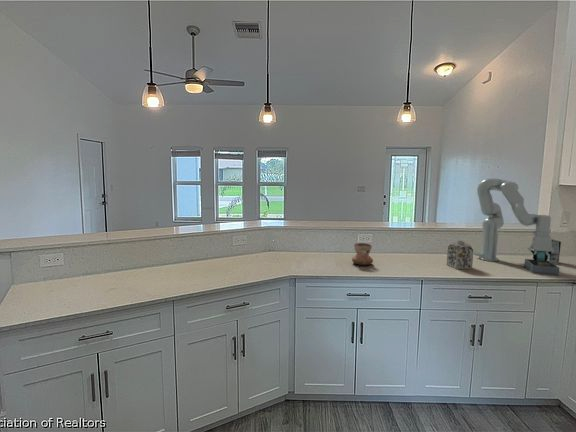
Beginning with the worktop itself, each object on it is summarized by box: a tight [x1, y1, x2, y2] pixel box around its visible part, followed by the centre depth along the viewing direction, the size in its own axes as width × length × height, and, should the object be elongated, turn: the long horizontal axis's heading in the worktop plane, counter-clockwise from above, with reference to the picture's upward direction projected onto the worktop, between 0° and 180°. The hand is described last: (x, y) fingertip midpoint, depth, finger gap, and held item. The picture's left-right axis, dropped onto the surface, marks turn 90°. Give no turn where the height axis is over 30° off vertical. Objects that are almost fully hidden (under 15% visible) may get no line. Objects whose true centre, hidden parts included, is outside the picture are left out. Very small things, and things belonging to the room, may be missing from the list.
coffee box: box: [547, 238, 562, 265], centre depth 239 cm, size 9×6×16 cm
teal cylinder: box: [536, 251, 545, 262], centre depth 222 cm, size 5×5×7 cm
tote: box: [524, 258, 560, 276], centre depth 220 cm, size 18×14×5 cm
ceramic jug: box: [351, 242, 374, 266], centre depth 235 cm, size 18×14×14 cm
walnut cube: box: [537, 262, 550, 267], centre depth 216 cm, size 5×5×5 cm
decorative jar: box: [446, 240, 474, 270], centre depth 227 cm, size 12×12×18 cm
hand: (540, 260), depth 223 cm, fingers closed on teal cylinder, 4 cm apart
